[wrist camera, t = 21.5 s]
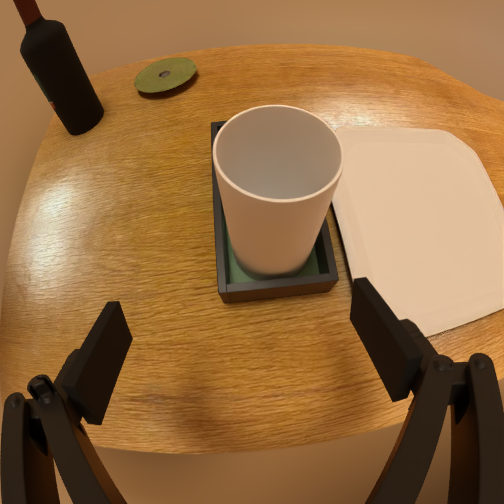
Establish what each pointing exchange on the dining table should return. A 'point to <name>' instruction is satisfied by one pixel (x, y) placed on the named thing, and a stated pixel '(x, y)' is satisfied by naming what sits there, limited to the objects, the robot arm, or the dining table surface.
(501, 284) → the plate
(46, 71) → the wine bottle
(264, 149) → the cup
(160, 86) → the mat
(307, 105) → the dining table surface
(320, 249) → the holder
